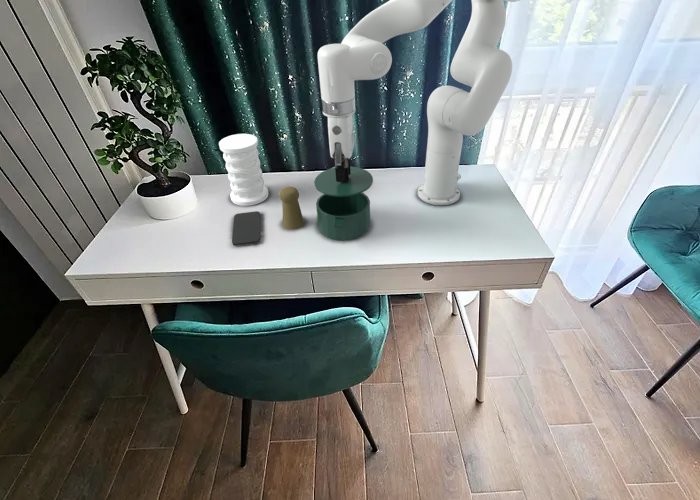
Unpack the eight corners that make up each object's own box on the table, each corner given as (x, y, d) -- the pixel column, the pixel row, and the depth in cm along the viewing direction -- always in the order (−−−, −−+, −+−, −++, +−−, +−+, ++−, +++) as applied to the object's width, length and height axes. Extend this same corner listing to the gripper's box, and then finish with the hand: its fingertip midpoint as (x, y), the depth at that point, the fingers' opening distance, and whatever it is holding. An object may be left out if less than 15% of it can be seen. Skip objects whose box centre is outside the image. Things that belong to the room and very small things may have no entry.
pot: (372, 207, 118) (372, 184, 113) (366, 248, 103) (366, 224, 98) (324, 205, 120) (322, 183, 115) (312, 245, 104) (309, 222, 100)
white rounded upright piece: (324, 184, 130) (323, 163, 125) (347, 182, 130) (346, 161, 126) (327, 200, 122) (325, 178, 117) (351, 198, 123) (350, 176, 118)
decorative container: (223, 199, 124) (208, 144, 113) (249, 183, 132) (238, 130, 121) (250, 209, 119) (237, 153, 108) (276, 192, 127) (267, 138, 116)
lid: (374, 170, 108) (374, 148, 104) (370, 199, 97) (370, 176, 93) (320, 169, 110) (318, 148, 106) (309, 198, 98) (306, 176, 95)
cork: (300, 230, 110) (295, 195, 103) (279, 228, 111) (273, 193, 104) (306, 218, 115) (302, 184, 108) (286, 216, 116) (281, 182, 109)
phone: (260, 210, 117) (260, 240, 105) (260, 213, 117) (260, 243, 106) (234, 213, 116) (231, 244, 104) (234, 216, 117) (232, 246, 105)
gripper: (351, 118, 84) (354, 194, 96) (358, 93, 97) (361, 163, 108) (316, 119, 85) (323, 194, 97) (327, 94, 98) (333, 163, 109)
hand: (343, 177), depth 102 cm, fingers closed on lid, 2 cm apart
